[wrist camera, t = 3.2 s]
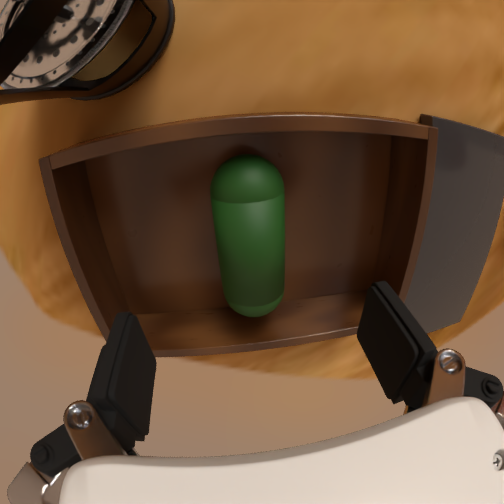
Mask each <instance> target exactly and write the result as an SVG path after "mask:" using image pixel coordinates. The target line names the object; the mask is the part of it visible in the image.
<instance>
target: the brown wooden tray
mask: <svg viewBox="0 0 504 504" xmlns="http://www.w3.org/2000/svg"><path fill="white" fill-rule="evenodd" d="M437 141H438V128H436V127H432V126H428V125H423V124H419V123H414V122H409V121H404V120H399V119H393V118H385V117H376V116H366V115H355V114H340V113H317V112H274V113H251V114H236V115H224V116H214V117H205V118H197V119H189V120H182V121H176V122H170V123H164V124H158V125H153V126H147V127H142V128H138V129H133V130H128V131H124V132H120V133H116V134H111V135H108V136H104V137H100V138H96V139H93V140H89V141H86V142H82V143H79V144H76V145H73V146H70V147H68V148H65V149H62V150H60V151H57V152H55V153H52V154H50V155H47V156H45V157H43V158H40V159H39V165H40V169H41V174H42V178H43V183H44V187H45V191H46V195H47V198H48V202H49V206H50V209H51V212H52V216H53V219H54V222H55V225H56V228H57V231H58V234H59V237H60V240H61V243H62V246H63V249H64V251H65V254H66V257H67V259H68V262H69V264H70V267H71V269H72V272H73V274H74V277H75V279H76V281H77V284H78V286H79V288H80V290H81V293H82V295H83V297H84V299H85V301H86V303H87V305H88V308H89V310H90V312H91V314H92V316H93V318H94V320H95V322H96V323H97V325H98V327H99V329H100V331H101V333H102V335H103V337H104V338H105V340H106V342H107V339H108V336H109V333H110V330H111V327H112V324H113V322H114V319H115V316H116V314H117V313H120V312H131V313H132V314H133V315H136V316H137V318H138V320H139V323H140V325H141V327H142V330H143V332H144V334H145V337H146V339H147V341H148V343H149V345H150V348H151V350H152V352H153V354H154V356H155V357H179V356H199V355H213V354H226V353H237V352H247V351H256V350H264V349H272V348H279V347H287V346H293V345H300V344H306V343H312V342H318V341H324V340H329V339H334V338H340V337H345V336H350V335H354V334H357V330H358V326H359V323H360V319H361V315H362V311H363V307H364V303H365V298H366V294H367V290H368V288H369V287H371V284H372V283H375V282H380V281H386V282H387V283H388V284H389V285H390V286H391V288H392V289H393V290H394V291H395V293H396V294H397V295H398V297H399V298H400V299H401V300H402V302H403V303H405V300H406V297H407V293H408V290H409V287H410V284H411V281H412V277H413V274H414V270H415V267H416V263H417V259H418V256H419V252H420V248H421V244H422V239H423V235H424V230H425V226H426V221H427V216H428V211H429V205H430V199H431V193H432V187H433V180H434V172H435V163H436V153H437ZM240 154H253V155H258V156H261V157H263V158H265V159H267V160H268V161H270V162H271V163H272V164H273V165H274V166H275V167H276V168H277V169H278V171H279V173H280V174H281V176H282V179H283V182H284V189H285V289H284V295H283V298H282V300H281V302H280V303H279V305H278V306H277V307H276V308H275V309H274V310H273V311H272V312H270V313H268V314H266V315H264V316H261V317H247V316H244V315H241V314H239V313H237V312H236V311H234V310H233V309H232V308H231V307H230V306H229V304H228V302H227V301H226V299H225V296H224V293H223V287H222V280H221V273H220V266H219V259H218V252H217V245H216V237H215V230H214V222H213V214H212V206H211V197H210V185H211V180H212V178H213V176H214V173H215V172H216V170H217V169H218V167H219V166H220V165H221V164H222V163H223V162H225V161H226V160H228V159H229V158H231V157H234V156H237V155H240Z"/></svg>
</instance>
